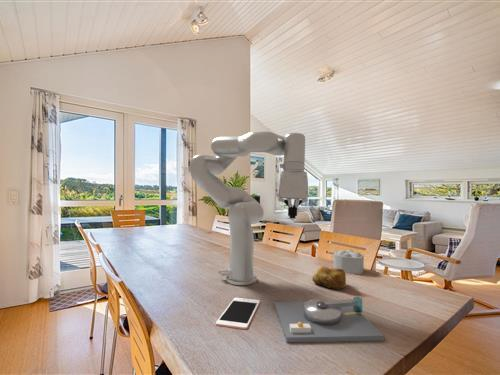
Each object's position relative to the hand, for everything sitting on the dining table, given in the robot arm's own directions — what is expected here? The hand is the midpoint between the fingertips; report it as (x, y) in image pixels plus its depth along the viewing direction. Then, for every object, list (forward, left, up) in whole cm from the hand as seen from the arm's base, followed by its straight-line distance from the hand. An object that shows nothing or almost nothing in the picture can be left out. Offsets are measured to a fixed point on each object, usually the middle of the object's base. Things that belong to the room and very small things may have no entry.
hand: (292, 218), depth 95 cm
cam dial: (+8, -21, -25) cm, 34 cm away
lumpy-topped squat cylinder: (+32, +26, -27) cm, 49 cm away
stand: (+4, -22, -27) cm, 35 cm away
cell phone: (-19, -16, -27) cm, 37 cm away
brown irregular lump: (+16, +6, -27) cm, 32 cm away
